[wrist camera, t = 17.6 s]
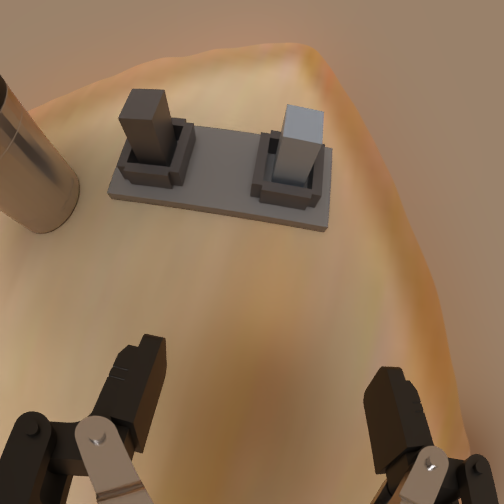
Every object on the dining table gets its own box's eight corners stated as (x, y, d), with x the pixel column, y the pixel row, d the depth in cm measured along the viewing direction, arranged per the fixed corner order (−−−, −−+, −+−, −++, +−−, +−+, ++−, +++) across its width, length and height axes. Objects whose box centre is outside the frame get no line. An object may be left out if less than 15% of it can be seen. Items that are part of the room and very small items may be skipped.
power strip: (111, 198, 34) (72, 146, 23) (137, 127, 37) (114, 66, 26) (324, 232, 34) (360, 186, 24) (329, 155, 37) (358, 95, 26)
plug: (270, 188, 34) (282, 136, 24) (274, 160, 35) (287, 104, 25) (299, 194, 34) (322, 144, 24) (302, 165, 35) (323, 111, 25)
